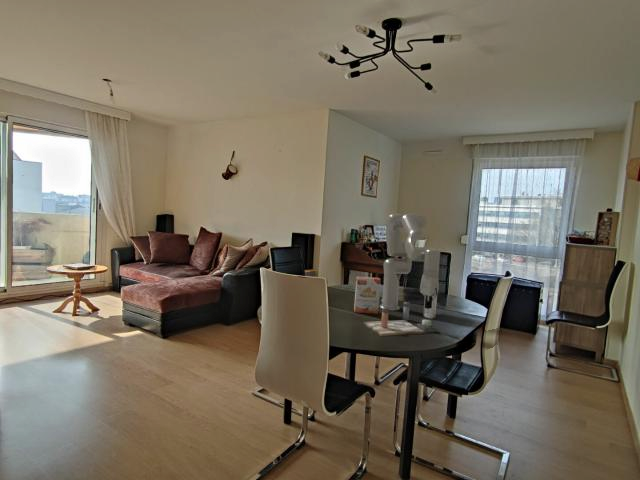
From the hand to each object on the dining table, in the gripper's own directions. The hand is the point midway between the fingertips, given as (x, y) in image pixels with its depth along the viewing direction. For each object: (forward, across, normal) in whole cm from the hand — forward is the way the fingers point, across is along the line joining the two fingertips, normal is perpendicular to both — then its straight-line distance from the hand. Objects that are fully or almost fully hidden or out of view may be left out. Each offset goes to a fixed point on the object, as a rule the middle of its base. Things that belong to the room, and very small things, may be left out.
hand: (428, 308), depth 193 cm
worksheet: (+12, -5, -16) cm, 21 cm away
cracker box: (+12, -36, -17) cm, 42 cm away
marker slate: (+12, -18, -1) cm, 22 cm away
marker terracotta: (+10, -4, -22) cm, 25 cm away
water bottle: (+12, -21, +17) cm, 30 cm away
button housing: (+12, 0, 0) cm, 12 cm away
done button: (+10, 0, 0) cm, 10 cm away
